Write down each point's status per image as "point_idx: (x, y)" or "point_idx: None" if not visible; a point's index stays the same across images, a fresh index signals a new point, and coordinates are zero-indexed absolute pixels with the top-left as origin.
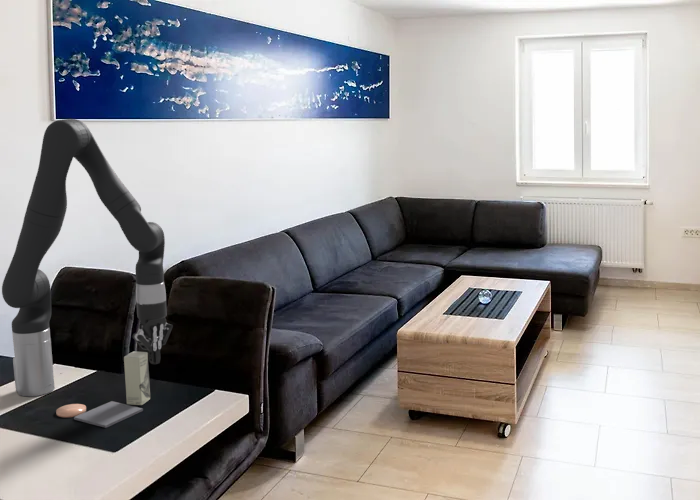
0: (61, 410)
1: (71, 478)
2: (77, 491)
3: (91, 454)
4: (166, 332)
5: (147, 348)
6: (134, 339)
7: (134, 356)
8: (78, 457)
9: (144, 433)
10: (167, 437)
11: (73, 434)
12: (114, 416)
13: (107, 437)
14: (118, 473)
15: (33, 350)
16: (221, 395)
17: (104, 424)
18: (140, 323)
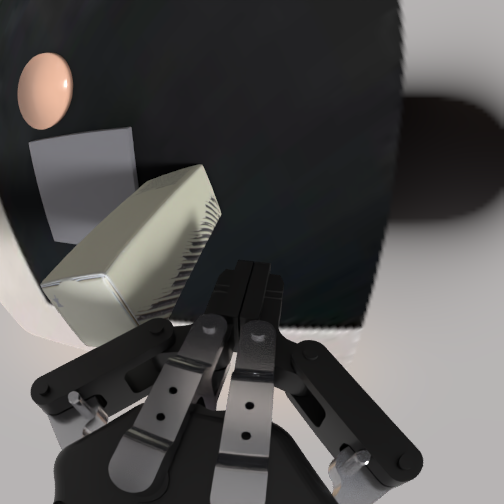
0: (26, 81)
1: (7, 294)
2: (11, 312)
3: (25, 280)
4: (331, 449)
5: (148, 365)
6: (55, 371)
7: (73, 328)
8: (13, 270)
9: None
10: None
11: (16, 204)
12: (80, 224)
13: (50, 266)
14: (42, 330)
15: None
16: (330, 351)
17: (54, 235)
18: (59, 491)
